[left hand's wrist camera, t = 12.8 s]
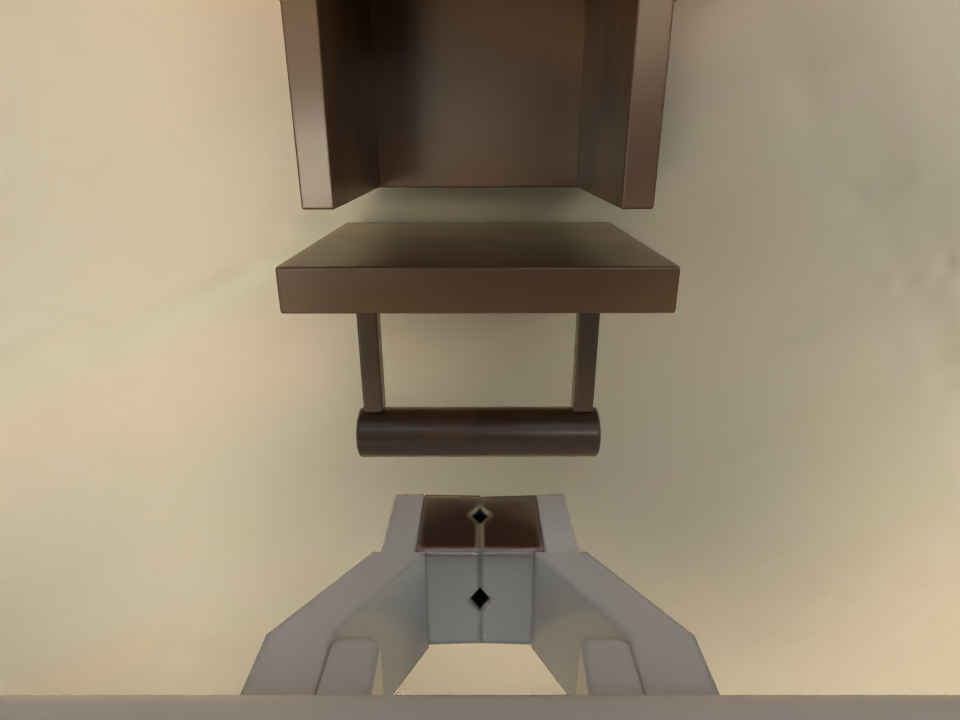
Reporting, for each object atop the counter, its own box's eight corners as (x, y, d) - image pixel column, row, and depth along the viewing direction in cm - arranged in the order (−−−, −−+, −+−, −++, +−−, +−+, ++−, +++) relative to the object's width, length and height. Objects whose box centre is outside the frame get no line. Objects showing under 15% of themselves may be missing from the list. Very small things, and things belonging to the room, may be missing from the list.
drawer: (598, 382, 25) (654, 495, 17) (358, 382, 25) (302, 496, 17) (661, -453, 16) (835, -1021, 8) (292, -452, 16) (113, -1020, 8)
